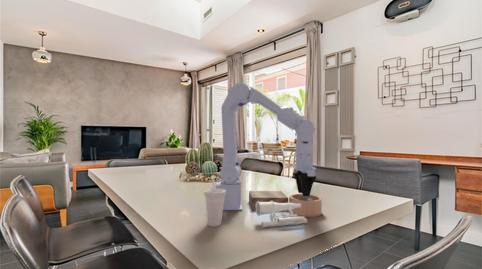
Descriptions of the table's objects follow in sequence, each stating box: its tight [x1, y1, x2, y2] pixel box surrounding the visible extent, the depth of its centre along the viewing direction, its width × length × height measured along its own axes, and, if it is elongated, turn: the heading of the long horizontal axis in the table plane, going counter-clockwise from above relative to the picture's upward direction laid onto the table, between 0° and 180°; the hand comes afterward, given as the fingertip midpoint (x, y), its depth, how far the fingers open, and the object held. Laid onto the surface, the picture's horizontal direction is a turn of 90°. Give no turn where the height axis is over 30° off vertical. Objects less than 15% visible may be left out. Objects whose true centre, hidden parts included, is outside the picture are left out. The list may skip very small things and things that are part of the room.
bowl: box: [288, 193, 323, 218], centre depth 84 cm, size 11×11×5 cm
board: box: [248, 190, 289, 210], centre depth 92 cm, size 13×11×4 cm
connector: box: [300, 197, 314, 201], centre depth 83 cm, size 6×3×3 cm, turn 100°
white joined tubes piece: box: [255, 201, 308, 229], centre depth 72 cm, size 8×14×5 cm
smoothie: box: [203, 175, 226, 228], centre depth 70 cm, size 6×6×14 cm
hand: (303, 194), depth 84 cm, fingers open, 4 cm apart
